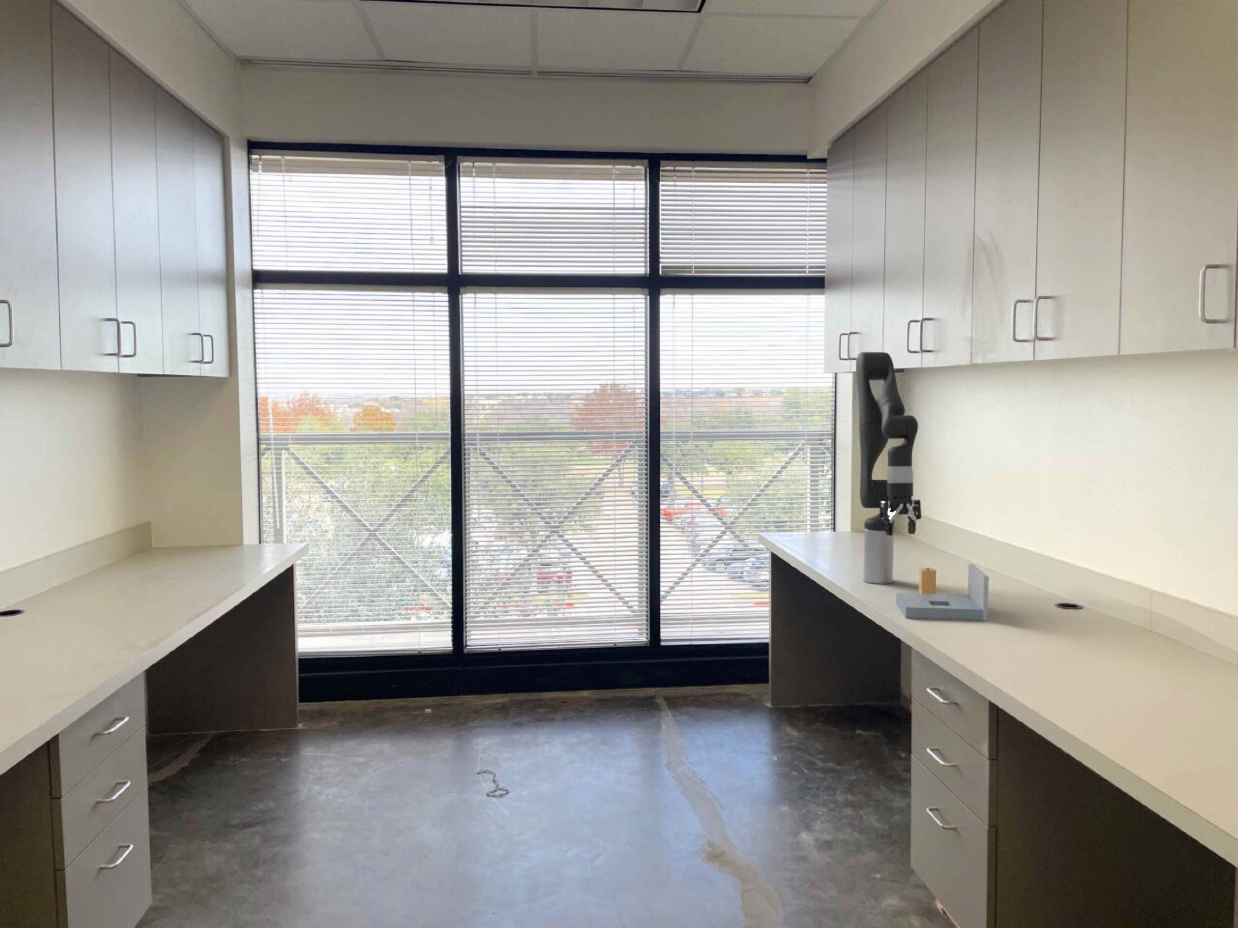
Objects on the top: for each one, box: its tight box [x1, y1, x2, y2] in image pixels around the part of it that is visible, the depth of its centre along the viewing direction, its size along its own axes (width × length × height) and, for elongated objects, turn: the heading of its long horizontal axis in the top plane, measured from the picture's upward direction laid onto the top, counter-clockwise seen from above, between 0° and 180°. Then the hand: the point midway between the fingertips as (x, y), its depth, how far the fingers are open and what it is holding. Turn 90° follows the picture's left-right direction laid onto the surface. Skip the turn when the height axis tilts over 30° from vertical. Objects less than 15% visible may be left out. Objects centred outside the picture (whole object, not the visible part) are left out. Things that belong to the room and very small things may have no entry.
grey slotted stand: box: [895, 563, 990, 622], centre depth 256 cm, size 18×21×12 cm
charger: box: [918, 567, 937, 594], centre depth 271 cm, size 4×4×9 cm
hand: (900, 534), depth 278 cm, fingers open, 8 cm apart
